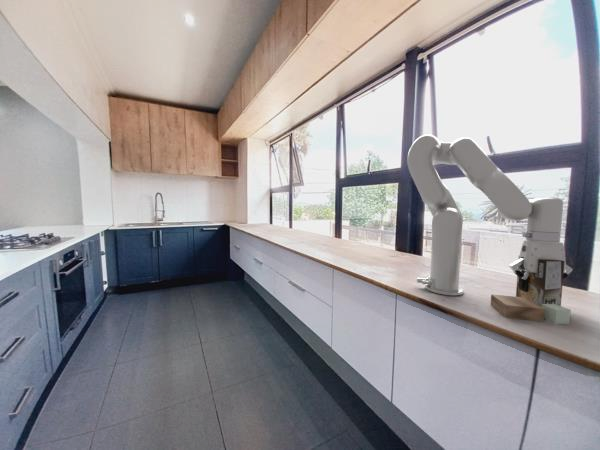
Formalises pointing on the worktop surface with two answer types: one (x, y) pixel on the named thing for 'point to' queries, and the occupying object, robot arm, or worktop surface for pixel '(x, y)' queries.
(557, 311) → the cube
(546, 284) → the coffee box
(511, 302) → the base block
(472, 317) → the worktop surface
